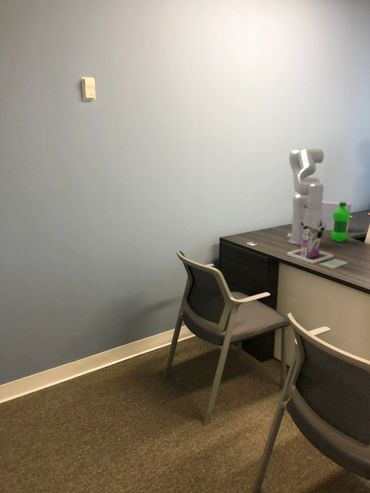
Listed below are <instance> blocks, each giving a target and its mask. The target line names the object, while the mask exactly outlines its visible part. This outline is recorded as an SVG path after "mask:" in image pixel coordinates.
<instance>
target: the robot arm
mask: <svg viewBox="0 0 370 493" xmlns="http://www.w3.org/2000/svg"><path fill="white" fill-rule="evenodd" d="M288 156H289V157H288V158H289V159H288V160H289V165H290V169H291V170H292V174H293V175H292V176H293V178H292V179H293V187H294V191H295V192H296V194H295V195H293V196H292V224H291V226H292V227H291V233H290V232H289V233H287V235H286V237H288V238H289V239H288V243H290V244H291V245H292V244H293V245H298V246H300V245H301V246H302V236H303V230H304V229H308V228H310V227H314V228H317V229H318V233H317V238H318V239H319V238H321V239H322V238H323V232H324V231H325V230H324V229H325V228H326V227H327V224H326V223H325V222H324V221H323V210H322V201H323V198H324V197H323V196H324V188H325V187H324V185H323V183H322V182H321V181H320V178H317V177H310V176H313V174H315V173H316V171H317V166H316V164H322V163H323V162H324V159H325V154H324V151H323V150H322V148H306V149H305V148H302V149H301V148H297V149H293V150H291V151H290V153H289V155H288ZM322 225H323V227H322Z"/></svg>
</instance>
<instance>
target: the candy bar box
mask: <svg viewBox="0 0 370 493" xmlns="http://www.w3.org/2000/svg"><path fill="white" fill-rule="evenodd" d="M317 233H318V229H317V228H314V227H312V228H310V227H308V229H304V230H303V236H302V245H301V248H300V249H301V252H300V255H299V256H301V257H304V258H307V259H311V258H314V257H317V256H319V255H320V254H319V251H320V249H321V248H320V246H321V239H322V237H321V238H319V239H318V238H317Z"/></svg>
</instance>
